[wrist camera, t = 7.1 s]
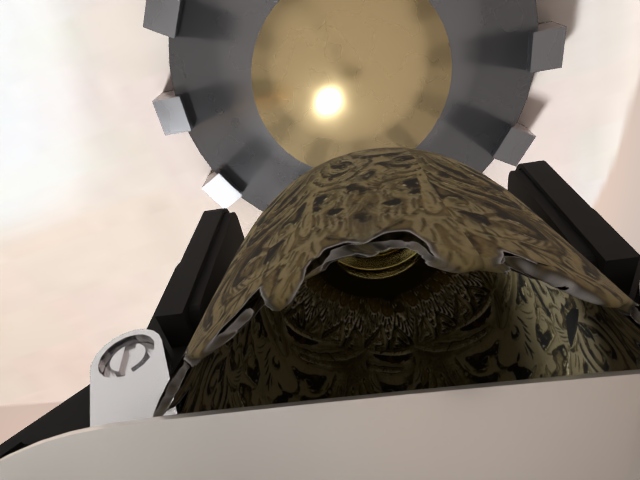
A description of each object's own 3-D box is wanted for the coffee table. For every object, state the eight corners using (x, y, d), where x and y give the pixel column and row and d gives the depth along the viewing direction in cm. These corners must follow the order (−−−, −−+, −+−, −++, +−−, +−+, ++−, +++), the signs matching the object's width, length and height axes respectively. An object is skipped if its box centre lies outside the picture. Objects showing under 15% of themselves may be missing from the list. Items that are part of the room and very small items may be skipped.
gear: (83, -123, 21) (64, -128, 19) (578, -245, 18) (600, -262, 17) (222, 255, 33) (217, 270, 31) (532, 213, 30) (542, 227, 29)
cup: (513, 50, 10) (841, 232, 4) (497, 288, 14) (642, 582, 8) (210, 101, 11) (36, 328, 5) (274, 314, 15) (232, 600, 9)
